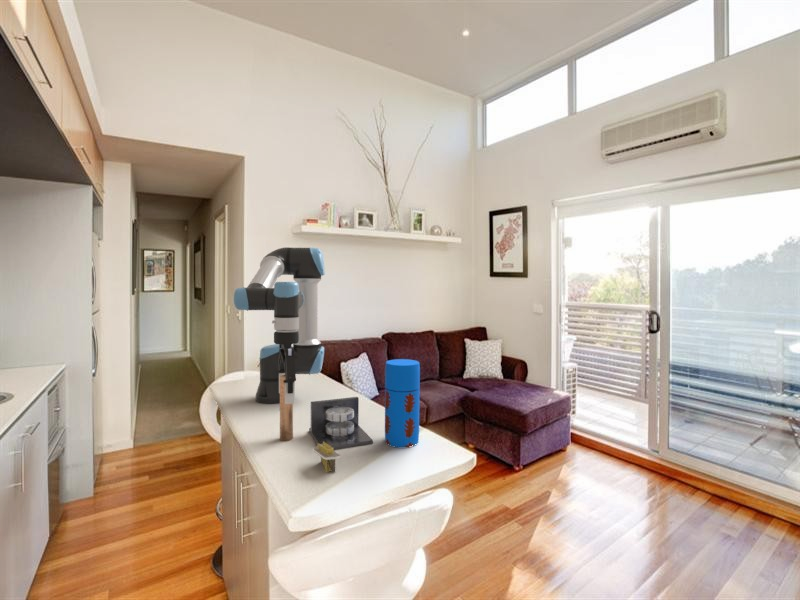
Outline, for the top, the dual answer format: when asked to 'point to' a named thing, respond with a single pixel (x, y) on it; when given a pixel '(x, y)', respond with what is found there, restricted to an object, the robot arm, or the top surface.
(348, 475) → the top surface
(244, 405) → the top surface
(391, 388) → the thermos
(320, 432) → the collar stand
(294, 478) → the top surface
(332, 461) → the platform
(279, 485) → the top surface
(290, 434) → the copper tube
